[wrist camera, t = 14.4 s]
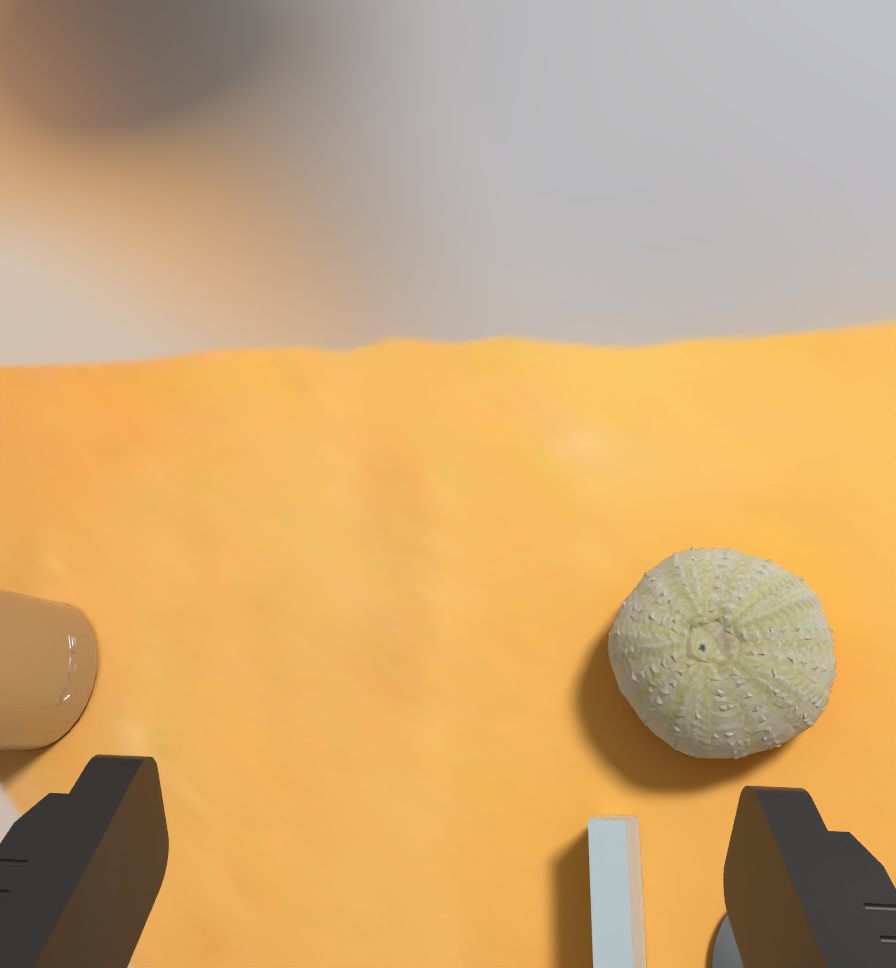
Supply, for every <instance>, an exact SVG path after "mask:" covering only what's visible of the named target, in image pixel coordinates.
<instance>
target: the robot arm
mask: <svg viewBox="0 0 896 968" xmlns="http://www.w3.org/2000/svg"><path fill="white" fill-rule="evenodd" d="M97 657H98V656H97V647H96V640H95V637H94V634H93V630H92V628H91V626H90V624H89V623H88V621H87V619H86V618H85V617H84V616H83V614H82V613H81V612H80V611H79V610H77V609H76V608H74V607H72V606H70V605H68V604H64V603H59V602H54V601H50V600H45V599H41V598H36V597H31V596H27V595H22V594H18V593H14V592H10V591H5V590H0V749H16V750H34V749H38V748H42V747H46V746H48V745H49V744H51V743H53V742H55V741H57V740H58V739H59V738H61V737H62V736H63V735H64V734H65V733H66V732H68V731H69V730H70V728H71V727H72V726H73V725H74V723H75V722H76V721H77V720H78V719H79V717H80V715H81V713H82V712H83V710H84V708H85V706H86V705H87V702H88V700H89V697H90V695H91V692H92V690H93V686H94V681H95V677H96V672H97ZM168 850H169V838H168V831H167V824H166V818H165V812H164V805H163V799H162V793H161V786H160V780H159V774H158V768H157V764H156V761H155V760H154V758H152V757H143V756H121V755H95V756H94V757H93V758H92V759H91V760H90V761H89V762H88V764H87V765H86V767H85V768H84V770H83V772H82V773H81V775H80V777H79V778H78V780H77V781H76V783H75V785H74V786H73V788H72V790H71V791H70V793H69V794H61V793H49V794H48V795H47V796H45V797H44V798H43V799H42V800H41V801H39V802H38V803H37V804H36V805H35V806H33V807H32V808H31V809H30V810H29V811H27V812H26V813H25V814H24V815H23V816H22V817H20V818H19V819H18V820H17V821H16V822H14V824H13V825H12V827H11V828H10V830H9V831H8V833H7V834H6V836H5V837H4V839H3V840H2V842H1V844H0V968H127V967H128V964H129V962H130V960H131V957H132V955H133V952H134V950H135V948H136V945H137V943H138V940H139V938H140V936H141V933H142V931H143V928H144V926H145V924H146V921H147V919H148V916H149V914H150V912H151V909H152V907H153V904H154V902H155V900H156V897H157V895H158V892H159V890H160V887H161V885H162V882H163V878H164V875H165V871H166V866H167V860H168ZM723 882H724V897H725V904H726V909H727V914H728V917H729V921H730V924H731V927H732V931H733V934H734V937H735V940H736V943H737V947H738V950H739V953H740V956H741V960H742V963H743V966H744V968H896V889H895V887H894V885H893V883H892V881H891V879H890V878H889V876H888V874H887V872H886V870H885V868H884V866H883V865H882V864H881V863H880V862H879V861H878V860H877V859H876V858H875V857H874V856H873V855H872V854H871V853H870V852H869V851H868V850H867V849H866V848H865V847H864V846H863V845H862V844H861V843H860V842H859V841H858V840H857V839H856V838H855V837H854V836H853V835H852V834H851V833H850V832H836V831H828V830H827V828H826V826H825V824H824V822H823V820H822V818H821V816H820V814H819V812H818V810H817V808H816V806H815V804H814V802H813V800H812V798H811V796H810V795H809V793H808V792H807V791H806V790H805V789H802V788H787V787H764V786H745V787H744V788H743V790H742V792H741V795H740V799H739V803H738V807H737V812H736V816H735V821H734V825H733V830H732V834H731V838H730V843H729V847H728V852H727V856H726V861H725V866H724V878H723Z"/></svg>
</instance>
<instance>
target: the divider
mask: <svg viewBox="0 0 896 968" xmlns="http://www.w3.org/2000/svg"><path fill="white" fill-rule="evenodd" d="M588 838H589V866H590V893H591V920H592V947H593V968H647V964H646V946H645V928H644V910H643V891H642V873H641V855H640V837H639V819H638V816H617V815H601V816H597V817H594V818H590V819H588Z"/></svg>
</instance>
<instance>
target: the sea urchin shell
mask: <svg viewBox="0 0 896 968" xmlns="http://www.w3.org/2000/svg"><path fill="white" fill-rule="evenodd" d="M832 632H833V630H832V629H831V628H830V626H829V625H828V622H827V619H826V617H825V614H824V612H823V609H822V606H821V603H820V600H819V598H818V596H817V595H816V594H815V593H814V591H813V590H812V589H811V588H810V587H809V586H808V585H807V584H806V583H805V582H804V579H803V578H800V577H798V576H796V575H794V574H792V573H790V572H788V571H786V570H785V569H783V568H782V567H780V566H779V565H777V564H775V563H773V562H772V561H771V559H768V560H765V559H763V558H759V557H755V556H752V555H749V554H746V553H743V552H740V551H736V550H733V549H732V548H730V547H729V548H725V549H722V548H691V549H688V550H684V551H681V552H678V553H673V555H672V556H670V557H668V558H666V559H665V560H663V561H662V562H661V563H659V564H658V565H657V566H656V567H654V568H653V569H652V570H650V571H649V572H646V573H644V577H643V578H642V580H641V581H640V582H639V584H638V585H637V587H636V588H635V589H634V590H633V591H632V592H631V593H630V595H629V596H628V597H627V598H626V599H625V600H624V601H623V602H622V605H621V607H620V609H619V611H618V613H617V615H616V618H615V621H614V623H613V625H612V628H611V630H610V632H609V633H608V636H609V640H608V651H609V652H608V655H607V656H608V657H609V658H610V663H611V666H612V669H613V672H614V675H615V678H616V681H617V684H618V686H619V692H620V693H621V694H623V695H624V697H625V698H626V699H627V700H628V702H629V704H630V705H631V707H632V708H633V709H634V710H635V712H636V713H637V715H638V717H639V718H640V719H641V720H642V722H643V726H646V727H648V728H649V729H650V730H651V732H653V733H654V734H655V735H656V736H657V737H660V738H661V739H662V740H663V741H665V742H666V743H667V744H668V745H670V746H671V747H672V748H673V749H674V750H675V751H680V752H682V753H684V754H687V755H689V756H694V757H695V758H696V759H697V758H735V759H736V760H737V759H739V758H740V757H746V756H747V755H749V754H753V753H757V752H760V751H765V750H768V749H771V750H772V748H774V747H780V746H781V745H782V744H783V743H785V742H787V741H789V740H790V739H792V738H794V737H795V736H796V735H798V734H799V733H801V732H803V731H805V730H806V729H808V728H809V727H811V726H813V724H814V723H815V722H816V721H817V720H818V718H819V717H820V715H821V714H822V713H823V712H824V710H825V707H826V705H827V703H828V700H829V695H830V692H831V687H832V684H833V680H834V678H835V675H836V660H835V657H834V647H833V643H834V639H833V638H832Z"/></svg>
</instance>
